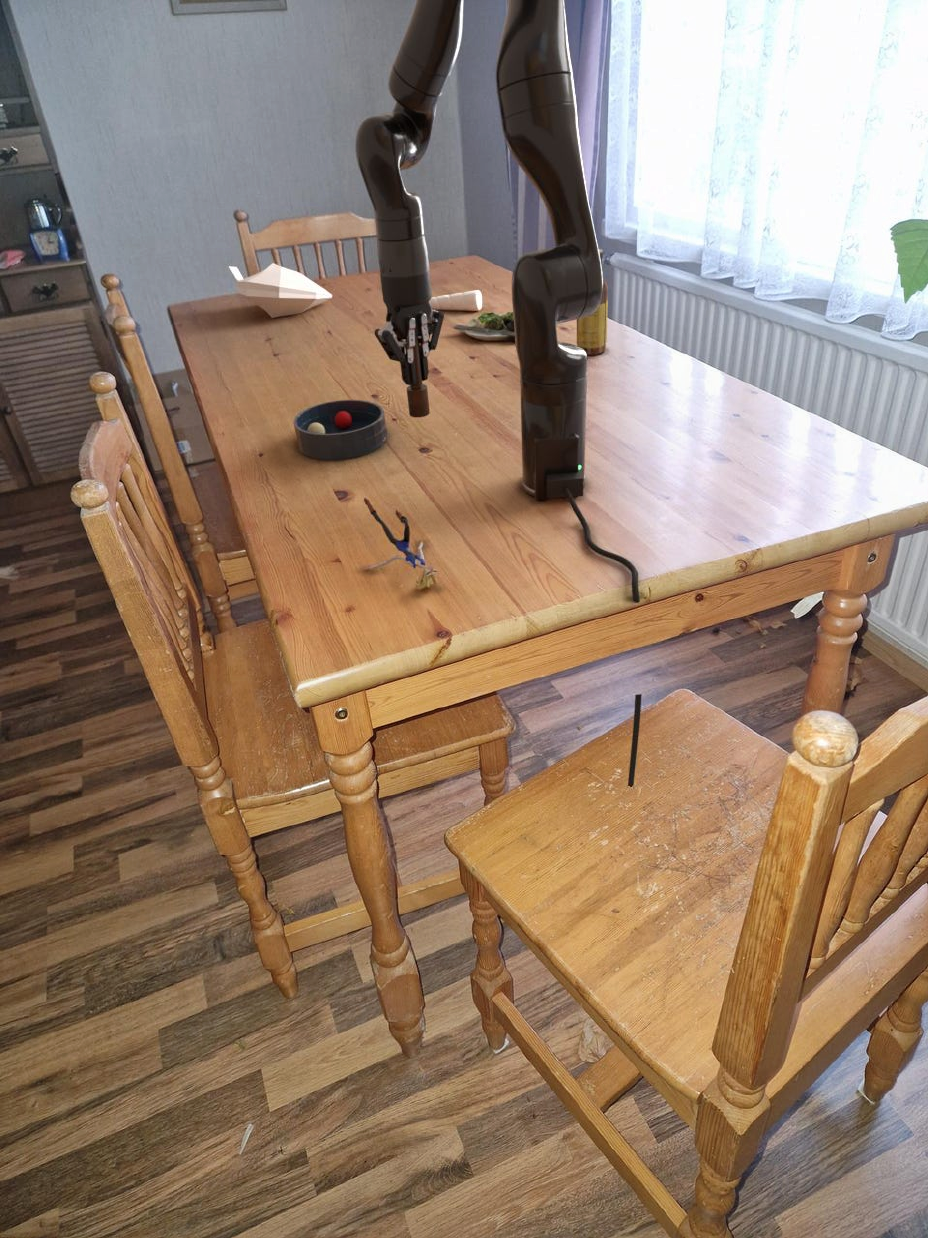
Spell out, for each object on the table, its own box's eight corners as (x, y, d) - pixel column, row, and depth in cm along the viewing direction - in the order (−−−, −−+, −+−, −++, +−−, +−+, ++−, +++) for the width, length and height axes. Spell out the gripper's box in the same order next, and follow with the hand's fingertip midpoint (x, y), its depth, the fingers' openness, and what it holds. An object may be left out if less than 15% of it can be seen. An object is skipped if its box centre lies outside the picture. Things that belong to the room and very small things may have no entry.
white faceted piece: (348, 304, 213) (341, 253, 205) (284, 330, 197) (274, 276, 190) (280, 295, 225) (271, 247, 217) (214, 319, 209) (202, 268, 202)
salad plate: (448, 345, 179) (447, 324, 177) (459, 321, 193) (458, 301, 191) (536, 343, 177) (536, 322, 174) (540, 319, 191) (540, 299, 188)
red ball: (352, 430, 142) (349, 414, 141) (335, 432, 142) (332, 415, 141) (353, 424, 145) (351, 408, 143) (337, 425, 145) (334, 409, 143)
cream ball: (325, 442, 139) (322, 426, 137) (307, 443, 139) (304, 427, 137) (327, 435, 141) (324, 419, 140) (310, 436, 141) (307, 420, 140)
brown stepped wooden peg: (429, 416, 134) (421, 330, 125) (409, 418, 134) (399, 331, 125) (429, 409, 136) (421, 324, 128) (409, 410, 136) (400, 325, 128)
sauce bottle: (586, 344, 174) (589, 245, 162) (612, 349, 170) (616, 247, 159) (569, 353, 170) (571, 252, 158) (595, 358, 166) (598, 255, 155)
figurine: (410, 648, 103) (351, 545, 114) (469, 613, 103) (404, 513, 114) (384, 608, 94) (322, 500, 105) (447, 570, 95) (379, 466, 105)
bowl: (384, 456, 134) (381, 431, 132) (292, 463, 134) (287, 437, 132) (389, 420, 147) (386, 396, 144) (304, 426, 147) (300, 402, 144)
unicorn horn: (398, 303, 210) (396, 284, 207) (484, 308, 202) (483, 287, 199) (390, 309, 206) (388, 289, 203) (477, 313, 198) (476, 293, 195)
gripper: (387, 281, 116) (401, 399, 126) (453, 261, 124) (461, 373, 134) (353, 276, 120) (369, 390, 130) (419, 257, 128) (429, 365, 138)
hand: (416, 381), depth 132 cm, fingers closed on brown stepped wooden peg, 2 cm apart
